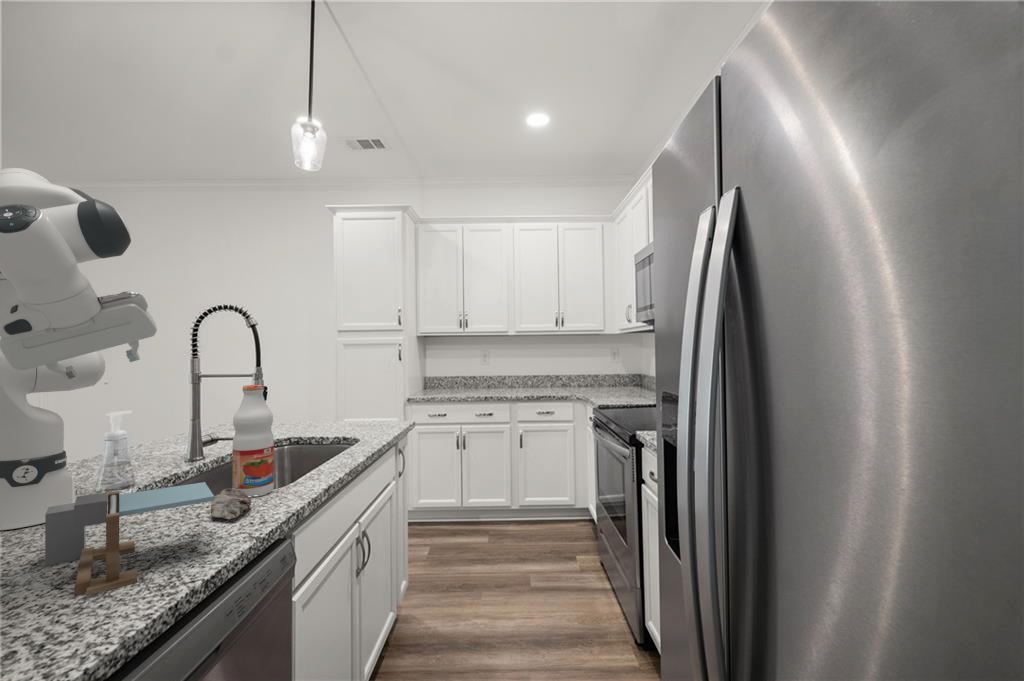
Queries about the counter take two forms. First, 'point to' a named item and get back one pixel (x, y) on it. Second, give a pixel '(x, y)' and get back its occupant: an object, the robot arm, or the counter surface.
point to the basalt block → (62, 535)
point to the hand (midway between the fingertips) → (104, 368)
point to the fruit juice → (253, 444)
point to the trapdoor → (138, 502)
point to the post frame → (112, 559)
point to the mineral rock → (230, 503)
